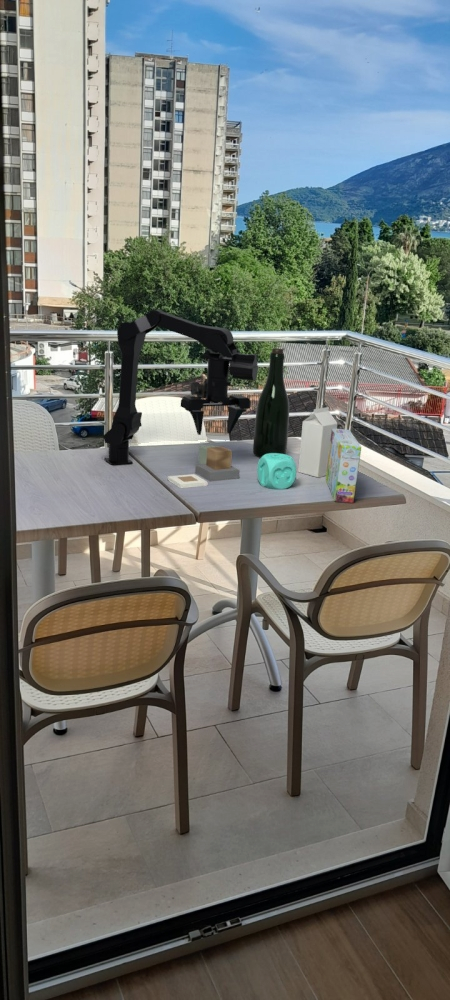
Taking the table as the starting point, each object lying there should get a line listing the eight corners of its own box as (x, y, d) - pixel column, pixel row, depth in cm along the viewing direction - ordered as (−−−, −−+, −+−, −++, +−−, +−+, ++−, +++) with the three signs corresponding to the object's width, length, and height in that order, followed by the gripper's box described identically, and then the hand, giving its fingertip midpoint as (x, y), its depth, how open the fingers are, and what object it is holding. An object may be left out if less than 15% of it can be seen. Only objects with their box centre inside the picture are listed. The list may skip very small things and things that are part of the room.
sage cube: (198, 462, 221) (199, 446, 219) (213, 461, 223) (214, 445, 222) (206, 467, 217) (206, 450, 215) (221, 465, 219) (222, 449, 217)
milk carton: (332, 474, 217) (339, 409, 211) (317, 478, 212) (324, 411, 206) (312, 468, 221) (318, 405, 216) (297, 472, 216) (303, 407, 211)
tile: (167, 479, 201) (167, 475, 201) (194, 477, 205) (194, 473, 204) (180, 488, 194) (180, 484, 194) (207, 485, 198) (207, 481, 198)
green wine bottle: (264, 449, 241) (272, 345, 231) (292, 455, 235) (301, 349, 225) (246, 455, 233) (253, 347, 223) (274, 461, 227) (283, 351, 217)
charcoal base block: (195, 474, 210) (195, 464, 209) (223, 472, 214) (223, 462, 213) (209, 483, 202) (210, 472, 201) (238, 480, 207) (239, 470, 206)
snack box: (355, 503, 191) (362, 446, 186) (333, 502, 191) (340, 444, 186) (344, 481, 211) (350, 428, 206) (324, 479, 211) (329, 427, 206)
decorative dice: (255, 482, 204) (257, 453, 202) (282, 480, 207) (284, 452, 205) (268, 490, 197) (270, 461, 195) (295, 488, 200) (297, 459, 198)
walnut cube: (214, 469, 204) (216, 451, 203) (206, 465, 208) (207, 447, 207) (230, 468, 207) (231, 450, 205) (221, 463, 211) (222, 446, 209)
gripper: (233, 371, 211) (229, 426, 216) (173, 372, 202) (170, 428, 207) (253, 378, 202) (249, 434, 207) (191, 378, 193) (188, 438, 198)
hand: (214, 433), depth 205 cm, fingers open, 9 cm apart
